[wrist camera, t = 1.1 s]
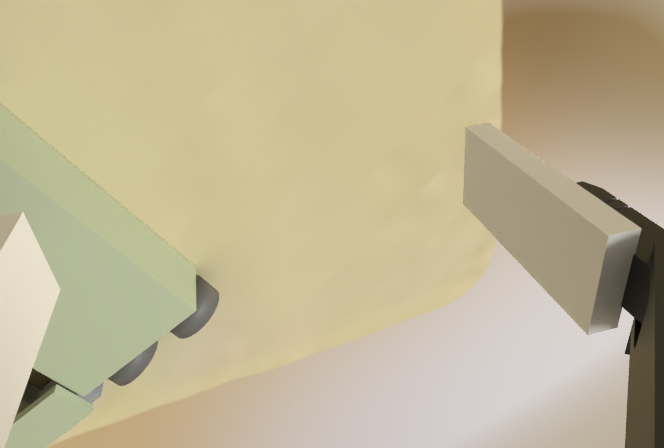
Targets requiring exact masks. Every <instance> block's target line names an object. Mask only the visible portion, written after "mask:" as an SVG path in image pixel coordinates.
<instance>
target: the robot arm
mask: <svg viewBox="0 0 664 448" xmlns="http://www.w3.org/2000/svg"><path fill="white" fill-rule="evenodd" d="M463 204H464V205H465V206H466V207H467V208H468V209H469V210H470V211H471V212H472V214H473V215H474V216H475V217H476V218H477V219H478V220H479V221H480V222H481V223H482V224H483V225H484V226H485V227H486V228H487V229H488V230H489V231H490V232H491V234H492V235H493V236H494V237H495V238H496V239H497V240H498V241H499V242H500V243H501V244H502V245H503V246H504V247H505V248H506V249H507V250H508V251H509V252H510V254H511V255H512V256H513V257H514V258H515V259H516V260H517V261H518V262H519V263H520V264H521V265H522V266H523V267H524V268H525V269H526V270H527V271H528V272H529V274H530V275H531V276H532V277H533V278H534V279H535V280H536V281H537V282H538V283H539V284H540V285H541V286H542V287H543V288H544V289H545V290H546V291H547V293H548V294H549V295H550V296H551V297H552V298H553V299H554V300H555V301H556V302H557V303H558V304H559V305H560V306H561V307H562V308H563V309H564V310H565V311H566V312H567V314H568V315H570V317H571V318H572V319H573V320H574V321H575V322H576V323H577V324H578V325H579V326H580V327H581V328H582V329H583V330H584V331H585V333H587V335H590V334H593V333H597V332H601V331H605V330H608V329H612V328H616V327H617V326H618V322H619V317H620V314H621V310H622V307H623V308H624V309H625V310H627V311H628V312H629V313H630V314H631V315H632V316H633V317H634V321H633V325H632V329H631V332H630V336H629V340H628V343H627V347H626V351H625V354H629V355H630V362H629V382H628V400H627V419H626V420H627V421H626V439H625V448H664V229H663V228H661V227H660V226H658V225H657V224H655V223H654V222H652V221H650V220H649V219H648V218H646V217H645V216H643V215H642V214H640V213H639V212H637V211H636V210H634V209H633V208H631V207H630V208H628V205H627V204H625V203H623V202H622V201H620V200H616V197H614V196H613V195H611V194H610V193H608V192H607V191H605V190H604V189H602V188H600V187H597V186H594V185H591V184H588V183H585V182H578V183H575V182H574V181H572V180H570V179H569V178H568V177H566V176H565V175H563V174H562V173H561V172H559V171H558V170H556V169H555V168H553V167H552V166H550V165H549V164H547V163H546V162H545V161H543V160H542V159H540V158H539V157H537V156H536V155H534V154H533V153H532V152H530V151H529V150H527V149H526V148H524V147H523V146H521V145H520V144H518V143H517V142H516V141H514V140H513V139H511V138H510V137H508V136H507V135H505V134H504V133H503V132H501V131H500V130H498V129H497V128H495V127H494V126H492V125H491V124H490V123H484V124H479V125H474V126H469V127H466V132H465V162H464V192H463ZM60 290H61V289H60V287H59V285H58V283H57V281H56V279H55V277H54V275H53V273H52V271H51V269H50V267H49V265H48V262H47V260H46V258H45V256H44V254H43V252H42V250H41V248H40V246H39V244H38V242H37V240H36V238H35V235H34V233H33V231H32V229H31V227H30V225H29V223H28V221H27V219H26V217H25V215H24V213H23V212H19V213H14V214H9V215H3V216H0V448H4V447H5V444H6V442H7V439H8V436H9V433H10V430H11V428H12V425H13V422H14V419H15V416H16V413H17V411H18V408H19V405H20V402H21V399H22V397H23V394H24V391H25V388H26V385H27V382H28V380H29V377H30V374H31V371H32V368H33V366H34V363H35V360H36V357H37V354H38V351H39V349H40V346H41V343H42V340H43V337H44V335H45V332H46V329H47V326H48V323H49V320H50V318H51V315H52V312H53V309H54V306H55V304H56V301H57V298H58V295H59V292H60Z"/></svg>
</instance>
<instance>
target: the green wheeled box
mask: <svg viewBox="0 0 664 448" xmlns="http://www.w3.org/2000/svg"><path fill="white" fill-rule="evenodd" d="M19 212H23V213H24V215H25V217H26V219H27V221H28V223H29V225H30V227H31V229H32V231H33V233H34V235H35V238H36V240H37V242H38V244H39V246H40V248H41V250H42V252H43V254H44V256H45V258H46V260H47V262H48V265H49V267H50V269H51V271H52V273H53V275H54V277H55V279H56V281H57V283H58V285H59V287H60V289H61V290H60V292H59V295H58V298H57V301H56V304H55V306H54V309H53V312H52V315H51V318H50V320H49V323H48V326H47V329H46V332H45V335H44V337H43V340H42V343H41V346H40V349H39V351H38V354H37V357H36V360H35V363H34V366H33V369H35V370H36V371H38V372H40V373H42V374H44V375H45V376H47V377H49V378H51V379H52V380H51V381H50V382H49V383H48V384H46V385H45V386H44V388H43V391H42V390H41V389H39V388H37V387H35V386H33V385H31V384H30V383H28V382H27V385H26V388H25V391H24V394H23V397H22V399H21V402H20V405H19V408H18V411H17V413H16V416H15V419H14V422H13V425H12V428H11V430H10V433H9V436H8V439H7V442H6V444H5V447H4V448H46V447H47V446H48V445H50V444H51V443H52V442H54V441H55V440H56V439H58V438H59V437H60V436H62V435H63V434H64V433H66V432H67V431H68V430H69V429H71V428H72V427H73V426H75V425H76V424H77V423H79V422H80V421H81V420H83V419H84V418H85V417H87V416H88V415H89V414H91V413H92V409H93V404H91V403H92V402H94V401H95V400H96V399H98V398H99V397H100V396H101V392H102V387H103V382H104V381H105V380H107V379H109V380H111V381H112V382H114V383H116V384H117V385H119V386H123V385H126V384H128V383H130V382H132V381H133V380H134V379H136V378H137V377H138V376H139V375H140V374H141V373H142V372H143V371H144V369H145V368H146V367H147V366H148V364H149V363H150V361H151V359H152V358H153V356H154V354H155V351H156V348H157V344H158V340H159V339H160V338H161V337H163V336H164V335H165V334H167V333H168V332H169V331H170V332H171V333H173V334H174V335H175V336H177V337H178V338H187V337H190V336H192V335H193V334H195V333H196V332H198V331H199V330H200V329H201V328H202V327H203V326H204V325H205V324H206V323H207V322H208V321H209V319H210V318H211V316H212V315H213V313H214V311H215V309H216V307H217V305H218V301H219V293H218V291H217V290H216V289H215V288H214V287H212V286H211V285H210V284H209V283H207V282H206V281H205V280H204V279H203V278H201V277H200V276H198V275H196V267H195V266H194V265H193V264H191V263H190V262H189V261H188V260H187V259H186V258H184V257H183V256H182V255H181V254H180V253H178V252H177V251H176V250H175V249H174V248H172V247H171V246H170V245H169V244H168V243H166V242H165V241H164V240H163V239H162V238H160V237H159V236H158V235H157V234H156V233H154V232H153V231H152V230H151V229H150V228H148V227H147V226H146V225H145V224H144V223H142V222H141V221H140V220H139V219H138V218H136V217H135V216H134V215H133V214H132V213H130V212H129V211H128V210H127V209H126V208H124V207H123V206H122V205H121V204H120V203H118V202H117V201H116V200H115V199H114V198H113V197H111V196H110V195H109V194H108V193H107V192H105V191H104V190H103V189H102V188H101V187H99V186H98V185H97V184H96V183H95V182H93V181H92V180H91V179H90V178H89V177H87V176H86V175H85V174H84V173H83V172H81V171H80V170H79V169H78V168H77V167H75V166H74V165H73V164H72V163H71V162H69V161H68V160H67V159H66V158H65V157H63V156H62V155H61V154H60V153H59V152H57V151H56V150H55V149H54V148H53V147H51V146H50V145H49V144H48V143H47V142H46V141H44V140H43V139H42V138H41V137H40V136H38V135H37V134H36V133H35V132H34V131H32V130H31V129H30V128H29V127H28V126H26V125H25V124H24V123H23V122H22V121H20V120H19V119H18V118H17V117H16V116H14V115H13V114H12V113H11V112H10V111H8V110H7V109H6V108H5V107H4V106H2V105H1V104H0V216H3V215H9V214H14V213H19Z"/></svg>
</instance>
